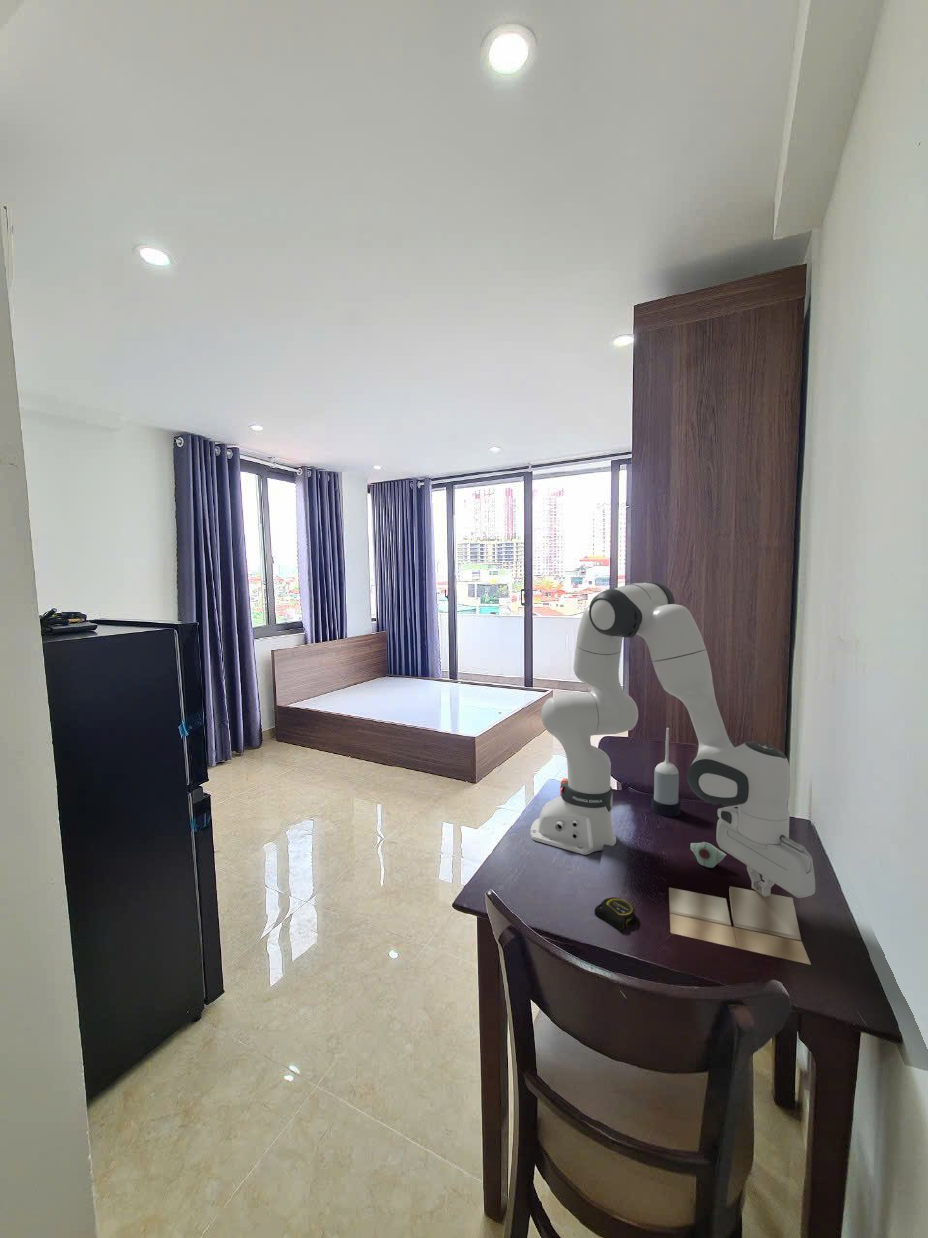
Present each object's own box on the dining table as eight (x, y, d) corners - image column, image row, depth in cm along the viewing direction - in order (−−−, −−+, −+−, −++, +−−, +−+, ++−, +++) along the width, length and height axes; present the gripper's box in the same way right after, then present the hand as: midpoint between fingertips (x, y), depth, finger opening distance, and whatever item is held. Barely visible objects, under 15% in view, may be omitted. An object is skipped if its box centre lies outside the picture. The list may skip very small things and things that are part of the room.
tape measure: (592, 921, 100) (592, 903, 100) (614, 909, 104) (615, 891, 103) (620, 941, 94) (620, 922, 94) (642, 927, 98) (643, 909, 98)
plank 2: (733, 930, 97) (734, 926, 96) (729, 890, 103) (729, 886, 102) (799, 944, 93) (801, 940, 92) (791, 902, 99) (792, 897, 98)
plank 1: (669, 919, 100) (669, 912, 100) (668, 893, 108) (668, 887, 107) (730, 932, 96) (731, 925, 96) (725, 905, 104) (726, 898, 103)
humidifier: (679, 807, 151) (681, 726, 150) (681, 818, 144) (683, 733, 142) (651, 803, 154) (652, 723, 153) (651, 814, 147) (652, 730, 145)
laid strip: (670, 940, 94) (670, 932, 94) (669, 920, 100) (669, 913, 100) (810, 973, 86) (811, 964, 86) (801, 949, 92) (801, 941, 92)
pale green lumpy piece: (726, 872, 116) (727, 844, 116) (722, 880, 113) (723, 851, 113) (690, 860, 122) (691, 834, 121) (685, 868, 118) (686, 840, 118)
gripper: (825, 848, 90) (823, 922, 91) (735, 802, 110) (733, 863, 110) (798, 853, 88) (796, 929, 89) (711, 806, 108) (710, 868, 109)
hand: (760, 892), depth 100 cm, fingers closed
